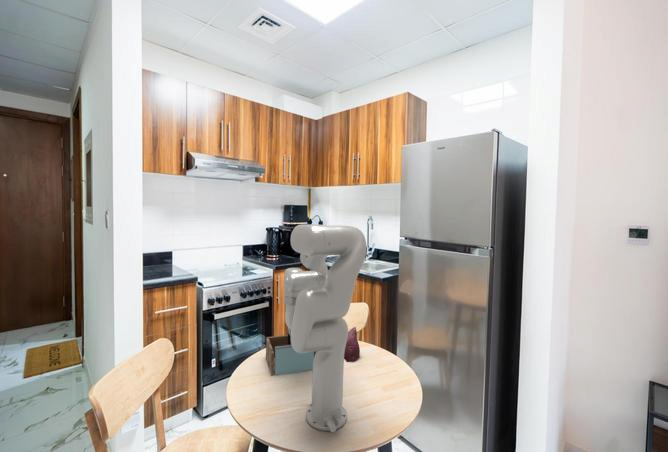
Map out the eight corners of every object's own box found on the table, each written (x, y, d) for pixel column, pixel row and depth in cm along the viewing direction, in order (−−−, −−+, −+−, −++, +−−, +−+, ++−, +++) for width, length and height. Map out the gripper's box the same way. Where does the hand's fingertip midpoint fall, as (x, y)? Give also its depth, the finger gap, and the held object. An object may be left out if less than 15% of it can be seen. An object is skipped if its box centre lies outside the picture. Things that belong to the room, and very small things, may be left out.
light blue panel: (313, 369, 120) (314, 343, 120) (275, 375, 115) (275, 347, 115) (312, 368, 121) (313, 341, 121) (274, 373, 116) (275, 346, 116)
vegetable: (358, 359, 139) (367, 327, 140) (357, 367, 129) (367, 333, 130) (336, 351, 140) (345, 320, 141) (334, 359, 130) (344, 325, 131)
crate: (316, 371, 121) (317, 347, 120) (271, 379, 115) (271, 353, 114) (306, 354, 135) (307, 332, 134) (265, 360, 129) (266, 337, 128)
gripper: (307, 303, 116) (305, 350, 117) (297, 293, 130) (296, 335, 131) (287, 305, 114) (286, 353, 115) (280, 294, 128) (279, 337, 129)
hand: (291, 343), depth 123 cm, fingers closed
